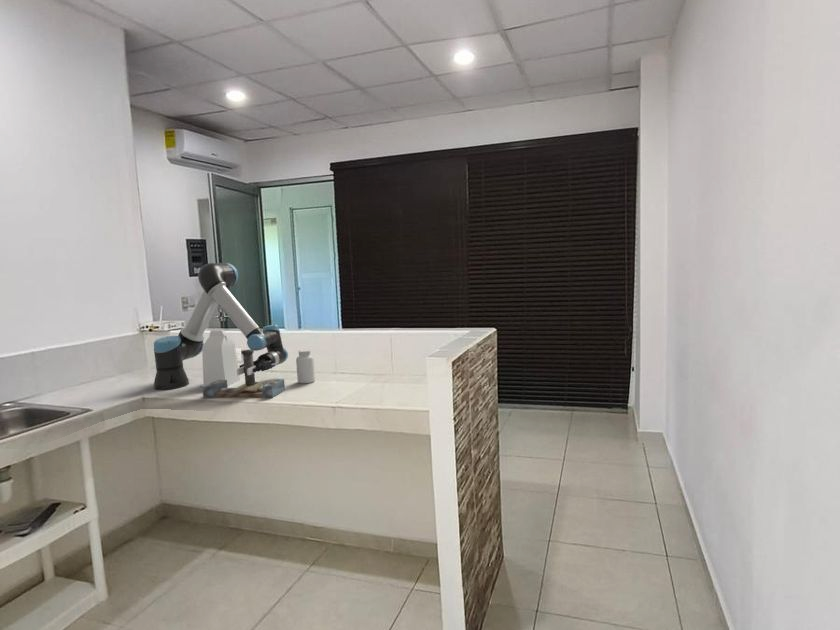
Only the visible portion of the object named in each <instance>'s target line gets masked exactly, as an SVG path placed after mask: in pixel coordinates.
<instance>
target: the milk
mask: <svg viewBox="0 0 840 630" xmlns="http://www.w3.org/2000/svg"><path fill="white" fill-rule="evenodd" d="M203 343H204V345H203V348H202V352H201V355H202V374H203V375H202V376H203V377H202V379H203V386H205V385H207V384H210V383H212V382H214V381H216V380H227V386H228V387H229V386H231V385H234V384H235V383H238V382H240V381H241V379H240V378H241V377H240V375H237V369H238V368H239V365H238V364H239V363H238V358H237V352H236V345H235V343H234V342H233V340H231V338H229V337H228V336H227V335H226V331H224V329H211V330H210V332H209V336H208V337H207V339H206V340H205V342H203Z"/></svg>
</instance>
